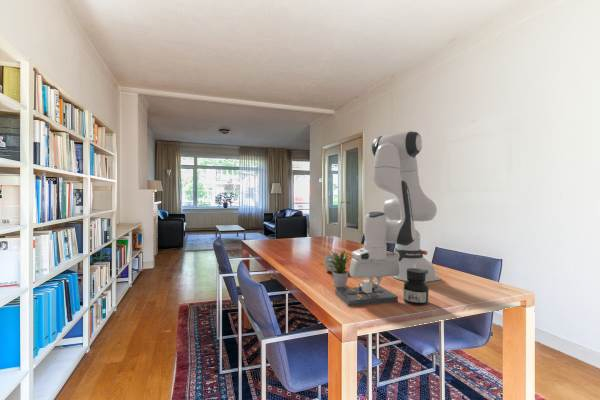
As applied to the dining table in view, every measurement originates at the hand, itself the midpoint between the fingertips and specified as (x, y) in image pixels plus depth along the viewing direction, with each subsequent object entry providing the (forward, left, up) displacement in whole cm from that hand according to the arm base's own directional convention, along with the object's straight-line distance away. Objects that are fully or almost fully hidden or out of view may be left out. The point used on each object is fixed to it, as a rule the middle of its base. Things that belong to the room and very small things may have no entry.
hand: (374, 287), depth 119 cm
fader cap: (+3, 0, -1) cm, 3 cm away
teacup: (+3, -40, -4) cm, 40 cm away
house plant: (+8, -18, -4) cm, 20 cm away
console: (+4, 0, -4) cm, 5 cm away
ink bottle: (-13, +8, -4) cm, 16 cm away
